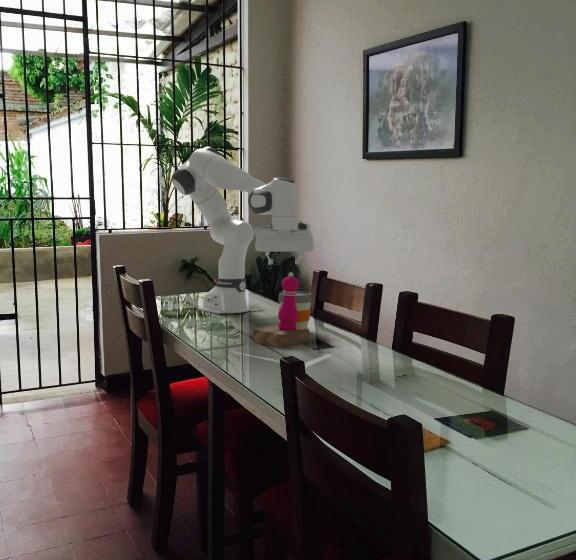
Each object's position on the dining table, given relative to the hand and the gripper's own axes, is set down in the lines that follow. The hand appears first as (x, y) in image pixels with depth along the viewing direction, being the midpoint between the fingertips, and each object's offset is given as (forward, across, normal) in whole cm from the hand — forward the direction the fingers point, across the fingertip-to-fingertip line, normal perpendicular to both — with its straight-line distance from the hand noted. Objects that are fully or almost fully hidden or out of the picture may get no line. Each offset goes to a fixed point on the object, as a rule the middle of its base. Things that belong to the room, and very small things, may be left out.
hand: (284, 264), depth 226 cm
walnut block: (+28, -1, 0) cm, 28 cm away
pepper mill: (+23, +1, 0) cm, 23 cm away
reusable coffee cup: (+28, +6, +15) cm, 32 cm away
